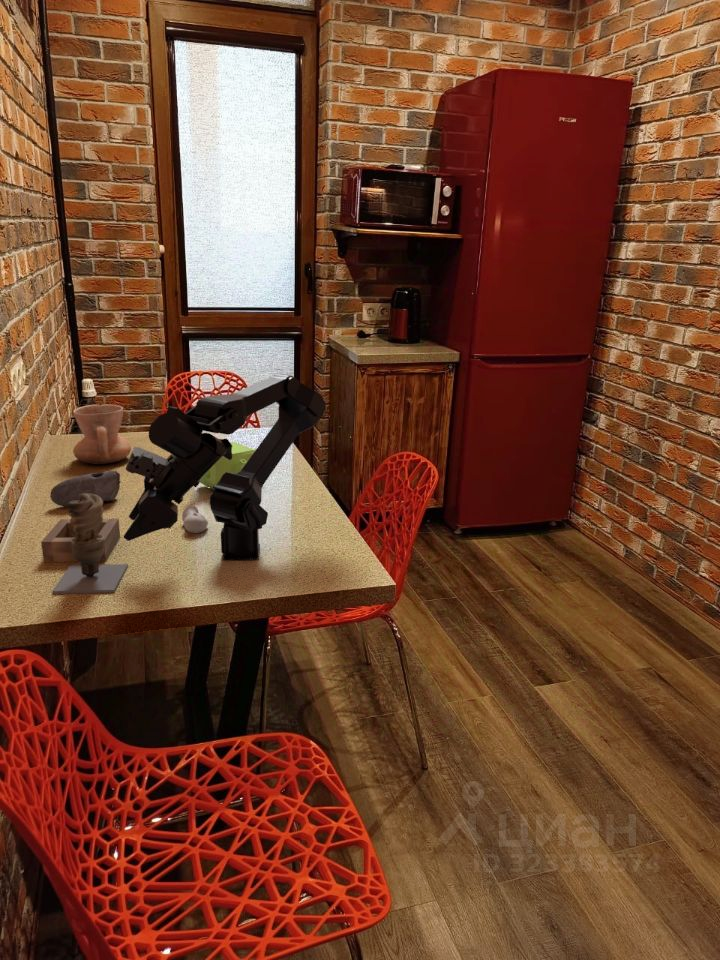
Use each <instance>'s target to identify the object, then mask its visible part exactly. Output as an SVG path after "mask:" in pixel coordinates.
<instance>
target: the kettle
mask: <svg viewBox="0 0 720 960" xmlns="http://www.w3.org/2000/svg"><path fill="white" fill-rule="evenodd" d="M230 443H231V444H232V459H231V460H229V459H227V458H225V457H224V456H222V457H221V458H220V459H219V460H218V461H217V462H216V463H215V464H214V465H213V466H212V467H211V468H210V469H209V470H208V471H207V472H206V473H205V474H204V475H203V476H202V478H201V479H200V483H199V484H202V485H204V486H205V487H206V486H207V487H210V488H209V489H211V490H212V491H214V489H213V486H215V485H216V484H217V483H218V482H219V481H220V479H221V477H222V475H223V474H225V473H226V472H229V473H233V474H237V473H239V472H240V471H241V470H242V468H243V467H244V466H245V464H246V463H247V461H248V460H249V459H250V457H251V456H252V455H253V453H254V452H255V450H256V449H257V448H254V449H253V448H250V447H248V446H247V445H246V446H245V445H243V444H241V443H238V442H236V441H232V442H231V441H230ZM207 487H206V488H207Z"/></svg>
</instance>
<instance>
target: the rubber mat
mask: <svg viewBox="0 0 720 960" xmlns="http://www.w3.org/2000/svg"><path fill="white" fill-rule="evenodd" d="M128 567H129V564H128V563H121V564H120V563H113V564H112V563H110V564H109V563H108V564H105V563H104V564H99V572H98V573H95V574H94V576H92V577H87V576H86V575H83V574H82V570H81V564H70V565H69V566H68V568H67V570H66V571H65V573H63V575H62V576H61V578H60V579H59V581H58V582H57V584H56V585H55V586H54V588H53V589H52V590H51V593H52V595H54V594H55V595H57V594H58V595H63V594H64V595H65V594H68V595H69V594H102V593H104V594H107V593H108V594H109V593H111V594H113V593H116V590H117V588H118V587H119V585H120V583H121V581H122V579H123V578H124V576H125V574H126V572H127V570H128Z"/></svg>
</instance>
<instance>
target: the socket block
mask: <svg viewBox="0 0 720 960" xmlns="http://www.w3.org/2000/svg"><path fill="white" fill-rule="evenodd" d="M70 519H71V518H62V519H59V520H58V522H57V523H56V524H55V525H54V526H53V527H52V528H51V530H50V531H49V532H48V533H47V534H46V536H44V538H43V539H42V540H41V541H40V544H41V550H42V551H41V552H42V558H43V563H63V562H64V563H66V562H67V563H72V562H73V563H74V562H77V563H78V562H79V561H78V560H77V559H76V558H75V557H74V555H73V552H72V546H71V540H72V539H73V538H74V537H77V533H75V532H74V531H73V528H74V525H72V524H71V523H70ZM119 519H120V518H103V521H102V523H101V524H100V526H99V529H98V534H101V535H102V536H103V537H104V545H105V547H104V554H103V555H102V557H101V558H100V560H99V562H107V560H108V558H109V557H110V555H111V553H112V552H113V550H114V548H115V547H116V545H117V544H118V542H119V540H120V539H121V532H120V530H121V529H120V521H119ZM79 563H80V562H79Z"/></svg>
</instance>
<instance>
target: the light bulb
mask: <svg viewBox="0 0 720 960" xmlns="http://www.w3.org/2000/svg"><path fill="white" fill-rule="evenodd" d="M79 499H80V500H73V501H70V502H68V504H67V508H68V509H69V510H68V516H69V517H71V518H69V519H70V523H71V524H72V525H74V528H73V531H74V532H75V533H77V537H74V538H73V539H72V540H71V546H72V552H73V555H74V557H75V558H76V559H77V560H78V561H79V564H80V565H81V570H82V574H83V575H86V576H87V577H92V576H94V574H95V573H98V572H99V565H100V561H99V560H100V558H101V557H102V555H103V554H104V547H105V545H104V537H103V536H102V535H101V534H98V529H99V526H100V524H101V523H102V521H103V519H104V516H103V514H104V507H103V505H104V502H103V501H102V499H101V498H100V497H99V496H97V495H95V494H89V493H84V494H80V495H79Z"/></svg>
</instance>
